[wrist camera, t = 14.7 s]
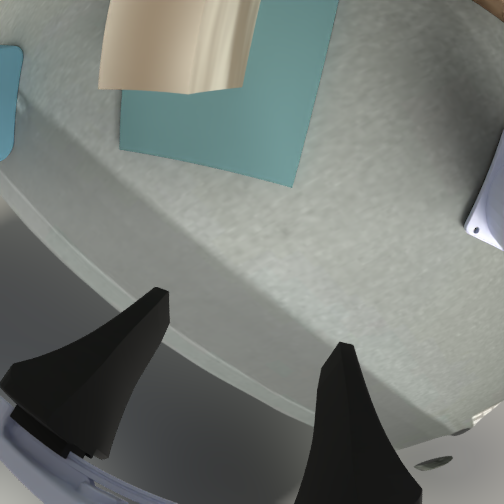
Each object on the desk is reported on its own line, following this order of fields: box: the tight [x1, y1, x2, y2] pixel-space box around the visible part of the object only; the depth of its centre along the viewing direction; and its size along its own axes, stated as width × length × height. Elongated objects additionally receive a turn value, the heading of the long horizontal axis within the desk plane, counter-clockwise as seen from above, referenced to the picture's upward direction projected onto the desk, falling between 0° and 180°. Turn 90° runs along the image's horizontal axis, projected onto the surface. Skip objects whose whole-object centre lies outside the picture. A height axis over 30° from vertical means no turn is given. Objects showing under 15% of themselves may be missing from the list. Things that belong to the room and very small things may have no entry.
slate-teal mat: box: [119, 0, 339, 188], centre depth 13 cm, size 12×16×1 cm
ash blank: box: [98, 0, 261, 94], centre depth 9 cm, size 4×6×7 cm, turn 170°
